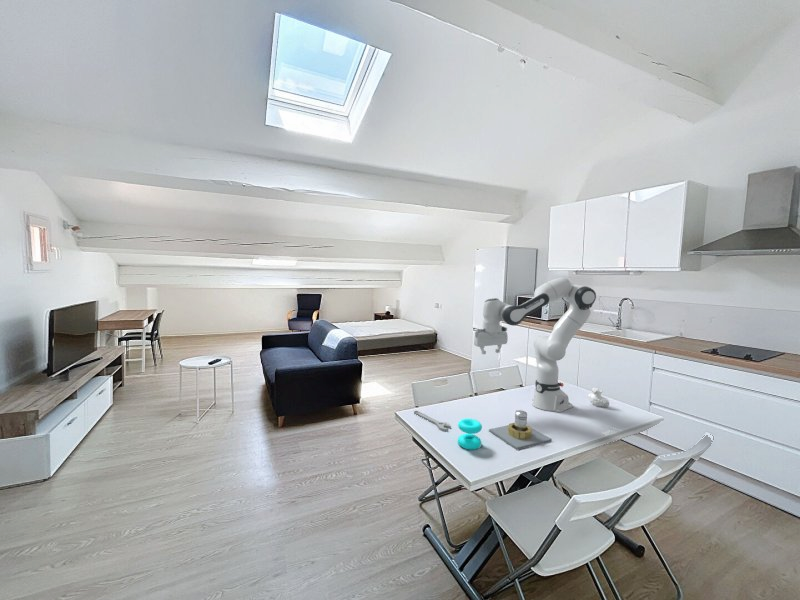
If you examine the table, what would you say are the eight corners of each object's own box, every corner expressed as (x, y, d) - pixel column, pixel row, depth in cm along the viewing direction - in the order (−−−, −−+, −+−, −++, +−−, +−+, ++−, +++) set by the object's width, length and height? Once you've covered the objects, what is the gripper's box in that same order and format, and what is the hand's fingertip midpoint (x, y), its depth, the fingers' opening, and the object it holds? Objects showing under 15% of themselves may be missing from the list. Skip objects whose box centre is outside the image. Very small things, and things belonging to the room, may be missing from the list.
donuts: (453, 420, 144) (470, 415, 149) (452, 442, 145) (470, 437, 150) (469, 429, 135) (487, 424, 140) (468, 453, 136) (486, 447, 141)
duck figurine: (587, 405, 195) (580, 392, 192) (595, 396, 197) (587, 383, 194) (607, 413, 184) (599, 399, 181) (614, 403, 186) (607, 389, 183)
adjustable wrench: (412, 414, 175) (412, 411, 175) (422, 411, 179) (422, 408, 178) (443, 433, 154) (443, 429, 154) (453, 429, 158) (454, 426, 158)
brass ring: (520, 427, 158) (520, 421, 158) (536, 436, 149) (536, 430, 149) (503, 431, 154) (503, 424, 154) (518, 441, 145) (519, 434, 145)
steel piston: (520, 430, 155) (521, 409, 154) (528, 435, 150) (529, 414, 149) (511, 431, 153) (513, 411, 152) (519, 437, 148) (520, 415, 147)
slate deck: (521, 424, 164) (521, 422, 164) (551, 441, 147) (551, 438, 147) (489, 431, 156) (489, 429, 156) (516, 449, 139) (516, 447, 139)
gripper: (479, 330, 174) (478, 356, 175) (509, 327, 182) (509, 352, 183) (471, 328, 179) (471, 353, 180) (501, 326, 188) (501, 350, 188)
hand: (490, 353), depth 182 cm, fingers open, 8 cm apart
